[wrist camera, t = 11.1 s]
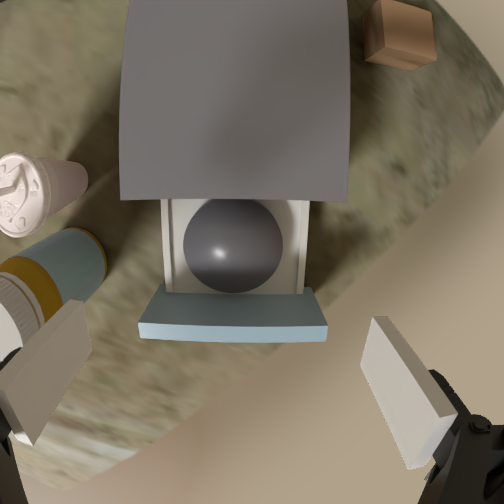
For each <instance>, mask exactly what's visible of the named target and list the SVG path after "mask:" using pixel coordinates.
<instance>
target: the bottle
mask: <svg viewBox="0 0 504 504" xmlns="http://www.w3.org/2000/svg"><path fill="white" fill-rule="evenodd" d="M106 273H107V259H106V256H105V252H104V250H103V248H102V246H101V244H100V243H99V241H98V240H97V239H96V238H95V237H94V236H93V235H92V234H91V233H89V232H88V231H86V230H84V229H81V228H75V227H70V228H67V229H64V230H61V231H59V232H57V233H55V234H53V235H51V236H49V237H47V238H46V239H44V240H42V241H40V242H38V243H36V244H34V245H32V246H31V247H29V248H27V249H25V250H23V251H22V252H20V253H18V254H16V255H14V256H13V257H11V258H9V259H8V260H6V261H5V262H3V263H2V264H1V266H0V362H1V361H3V359H4V358H5V357H6V356H7V355H8V354H9V353H10V352H11V351H13V350H15V349H17V348H18V347H23V346H24V345H25V344H26V343H27V342H28V341H29V340H30V339H31V338H32V337H33V336H34V335H35V334H36V333H37V331H38V330H39V329H40V328H41V327H42V326H43V325H44V324H45V323H46V322H47V321H48V320H49V319H50V318H51V317H52V316H53V315H54V314H55V313H56V312H57V311H58V310H59V309H60V308H61V307H62V306H63V305H64V304H66V303H67V302H68V301H69V300H70V299H71V300H79V301H83V302H84V303H85V302H86V301H87V300H88V298H89V297H90V296H91V295H92V294H93V293H94V292H95V291H96V290H97V289H98V288H99V287H100V286H101V284H102V283H103V281H104V279H105V277H106Z"/></svg>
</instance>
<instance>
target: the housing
mask: <svg viewBox="0 0 504 504" xmlns="http://www.w3.org/2000/svg"><path fill="white" fill-rule="evenodd" d="M349 144H350V49H349V26H348V10H347V0H129V6H128V13H127V20H126V28H125V37H124V47H123V58H122V71H121V87H120V110H119V176H120V200H149V199H268V200H303V201H328V202H346V201H347V186H348V168H349Z"/></svg>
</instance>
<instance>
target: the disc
mask: <svg viewBox="0 0 504 504" xmlns="http://www.w3.org/2000/svg"><path fill="white" fill-rule="evenodd" d="M183 251H184V256H185V260H186V262H187V265H188V267H189V268H190V270H191V272H192V273H193V274H194V276H195V277H196V278H197V279H198V280H199V281H201V282H202V283H203V284H204V285H206V286H208V287H209V288H212V289H214V290H217V291H220V292H225V293H242V292H247V291H250V290H253V289H255V288H257V287H259V286H261V285H262V284H264V283H265V282H266V281H267V280H268V279H269V278H270V277H271V276H272V275H273V274H274V272H275V271H276V269H277V267H278V266H279V263H280V261H281V257H282V253H283V239H282V234H281V231H280V228H279V226H278V224H277V222H276V220H275V218H274V216H273V215H272V213H271V212H270V211H269V210H268V209H267V208H266V207H265V206H264V205H263V204H261V203H260V202H258V201H256V200H254V199H212V200H210V201H208V202H207V203H205V204H204V205H203V206H202V207H200V208H199V209H198V211H197V212H196V213H195V214H194V216H193V217H192V218H191V220H190V222H189V223H188V225H187V228H186V230H185V234H184V239H183Z"/></svg>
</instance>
